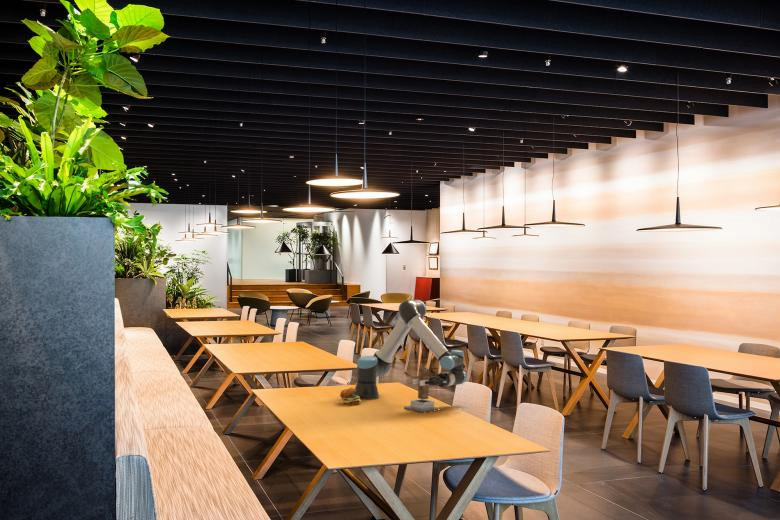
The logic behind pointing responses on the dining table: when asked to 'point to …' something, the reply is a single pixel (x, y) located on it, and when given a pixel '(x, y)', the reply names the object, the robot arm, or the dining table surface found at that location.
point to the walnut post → (423, 390)
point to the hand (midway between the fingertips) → (417, 382)
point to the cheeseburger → (350, 397)
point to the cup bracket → (421, 406)
